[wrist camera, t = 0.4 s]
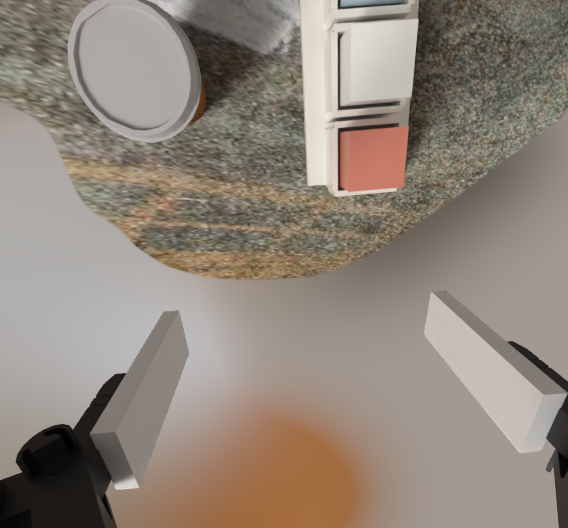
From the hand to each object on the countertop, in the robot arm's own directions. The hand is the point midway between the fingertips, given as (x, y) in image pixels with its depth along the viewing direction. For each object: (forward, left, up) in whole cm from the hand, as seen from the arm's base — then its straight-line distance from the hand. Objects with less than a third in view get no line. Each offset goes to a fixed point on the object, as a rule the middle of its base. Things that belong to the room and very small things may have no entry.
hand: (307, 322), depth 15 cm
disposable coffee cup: (-14, -11, -25) cm, 31 cm away
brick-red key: (-6, +9, -21) cm, 23 cm away
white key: (-14, +9, -21) cm, 27 cm away
